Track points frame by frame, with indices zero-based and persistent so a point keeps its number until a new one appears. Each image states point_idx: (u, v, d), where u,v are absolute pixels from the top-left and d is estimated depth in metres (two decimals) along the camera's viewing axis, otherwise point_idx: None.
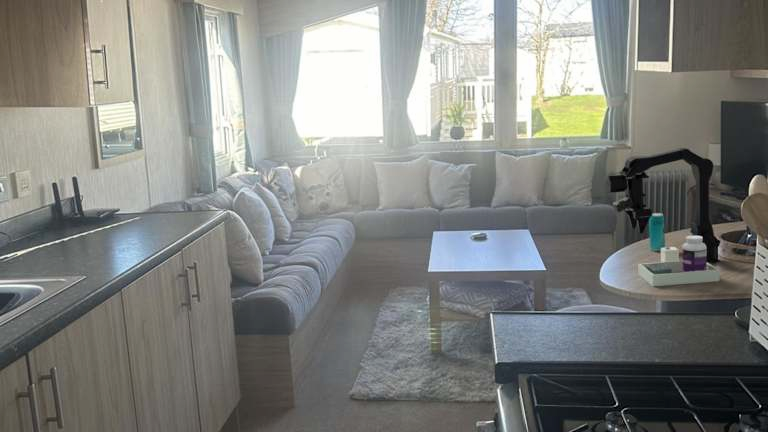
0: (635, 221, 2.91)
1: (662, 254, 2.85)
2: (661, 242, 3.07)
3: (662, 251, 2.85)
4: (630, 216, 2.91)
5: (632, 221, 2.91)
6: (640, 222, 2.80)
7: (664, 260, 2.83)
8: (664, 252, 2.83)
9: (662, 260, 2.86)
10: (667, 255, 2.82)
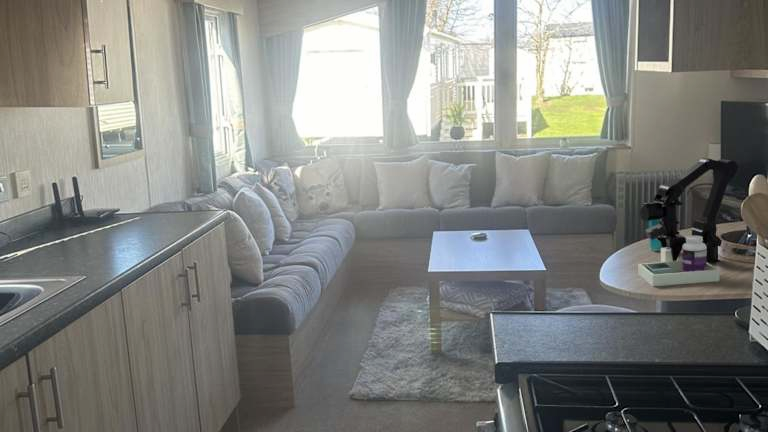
0: None
1: (662, 254, 2.85)
2: None
3: (662, 251, 2.85)
4: (662, 243, 2.89)
5: None
6: (674, 250, 2.78)
7: (664, 260, 2.83)
8: (664, 252, 2.83)
9: (662, 260, 2.86)
10: (667, 256, 2.82)
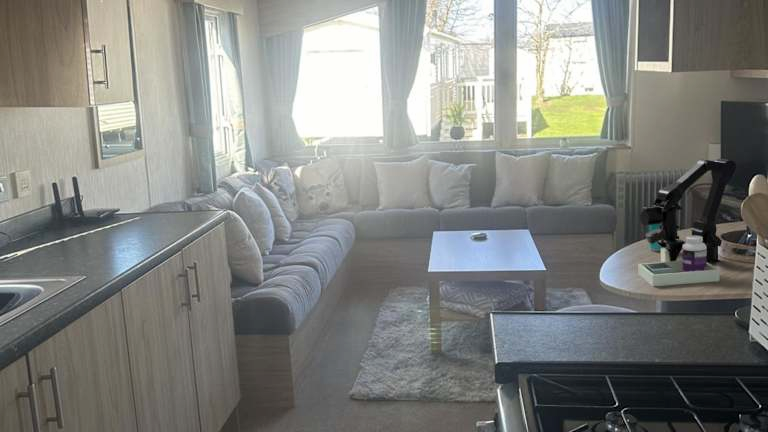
0: None
1: (662, 254, 2.85)
2: None
3: (662, 251, 2.85)
4: None
5: None
6: (672, 253, 2.80)
7: (664, 260, 2.83)
8: (664, 252, 2.83)
9: (662, 260, 2.86)
10: (667, 255, 2.82)
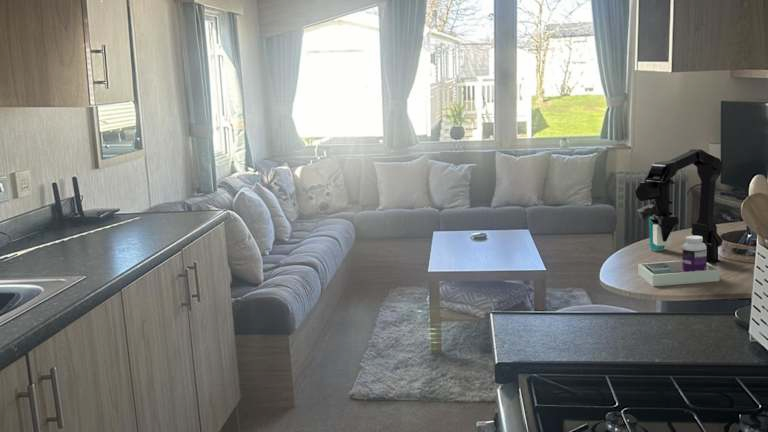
0: None
1: (654, 231, 2.75)
2: None
3: (654, 227, 2.75)
4: None
5: None
6: (664, 229, 2.70)
7: (656, 236, 2.74)
8: (656, 228, 2.73)
9: (654, 237, 2.76)
10: (658, 232, 2.72)
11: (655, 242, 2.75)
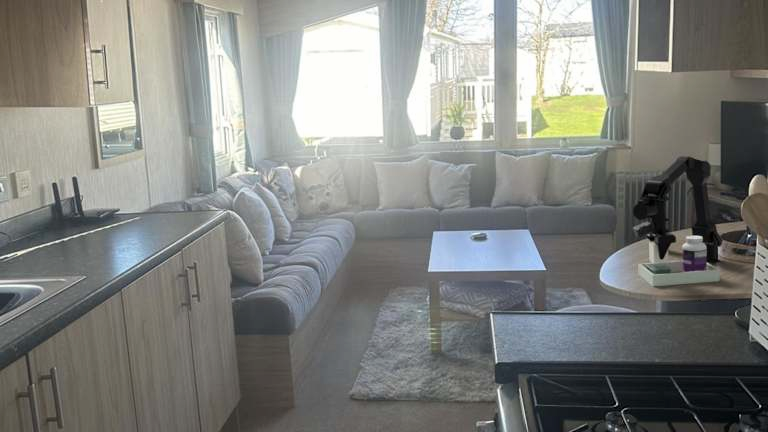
0: None
1: (650, 248, 2.69)
2: None
3: (650, 245, 2.69)
4: None
5: None
6: (661, 247, 2.65)
7: (652, 254, 2.68)
8: (652, 246, 2.67)
9: (650, 255, 2.70)
10: (655, 250, 2.66)
11: (652, 260, 2.69)
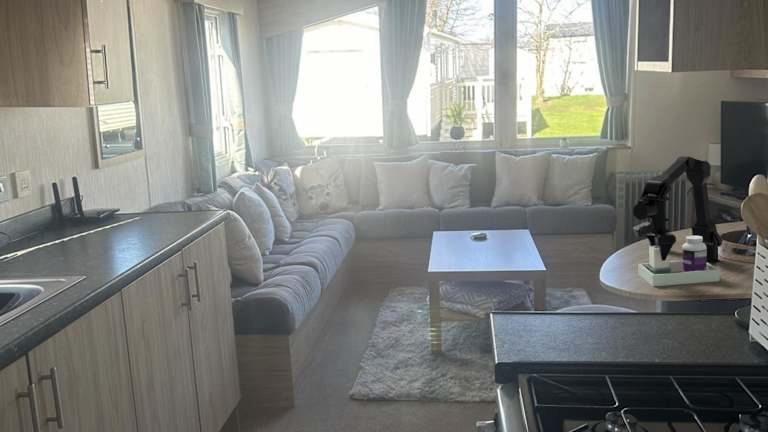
0: None
1: (651, 253, 2.70)
2: None
3: (651, 250, 2.69)
4: (651, 241, 2.73)
5: None
6: (662, 249, 2.63)
7: (653, 259, 2.68)
8: (653, 251, 2.67)
9: (651, 259, 2.70)
10: (655, 254, 2.67)
11: (652, 264, 2.69)
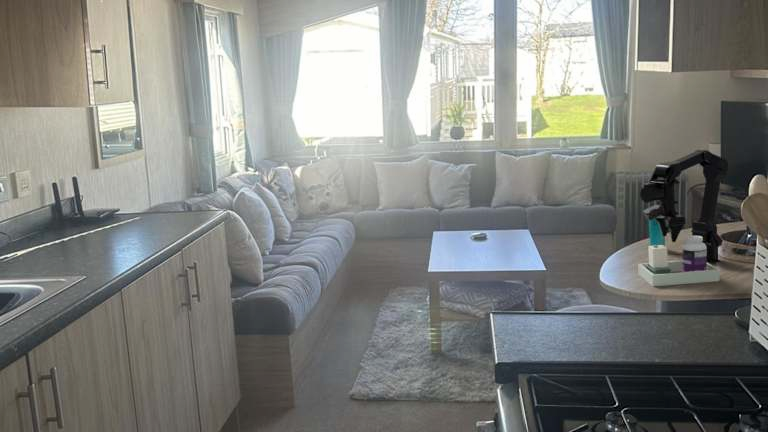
0: (666, 229, 2.82)
1: (650, 252, 2.70)
2: (661, 242, 3.07)
3: (650, 249, 2.70)
4: (661, 224, 2.82)
5: (663, 229, 2.82)
6: (673, 230, 2.71)
7: (652, 259, 2.69)
8: (652, 250, 2.68)
9: (650, 259, 2.71)
10: (654, 254, 2.67)
11: (651, 264, 2.70)
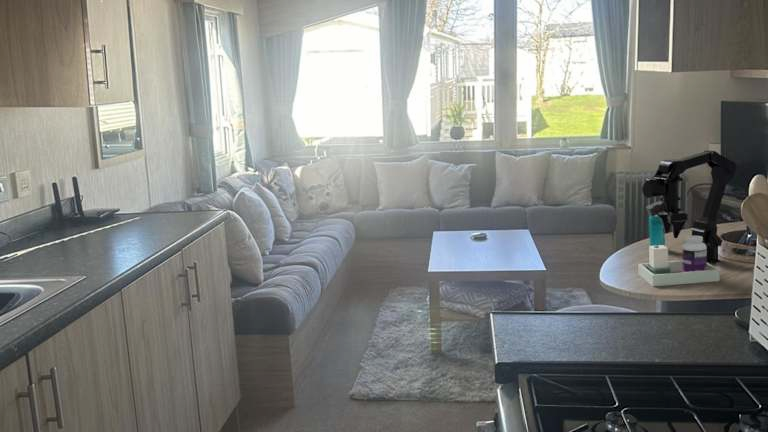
0: (668, 225, 2.85)
1: (650, 253, 2.70)
2: (661, 242, 3.07)
3: (650, 249, 2.70)
4: (663, 220, 2.85)
5: (665, 225, 2.85)
6: (675, 226, 2.74)
7: (652, 259, 2.68)
8: (652, 251, 2.68)
9: (650, 259, 2.71)
10: (655, 254, 2.67)
11: (652, 264, 2.70)
